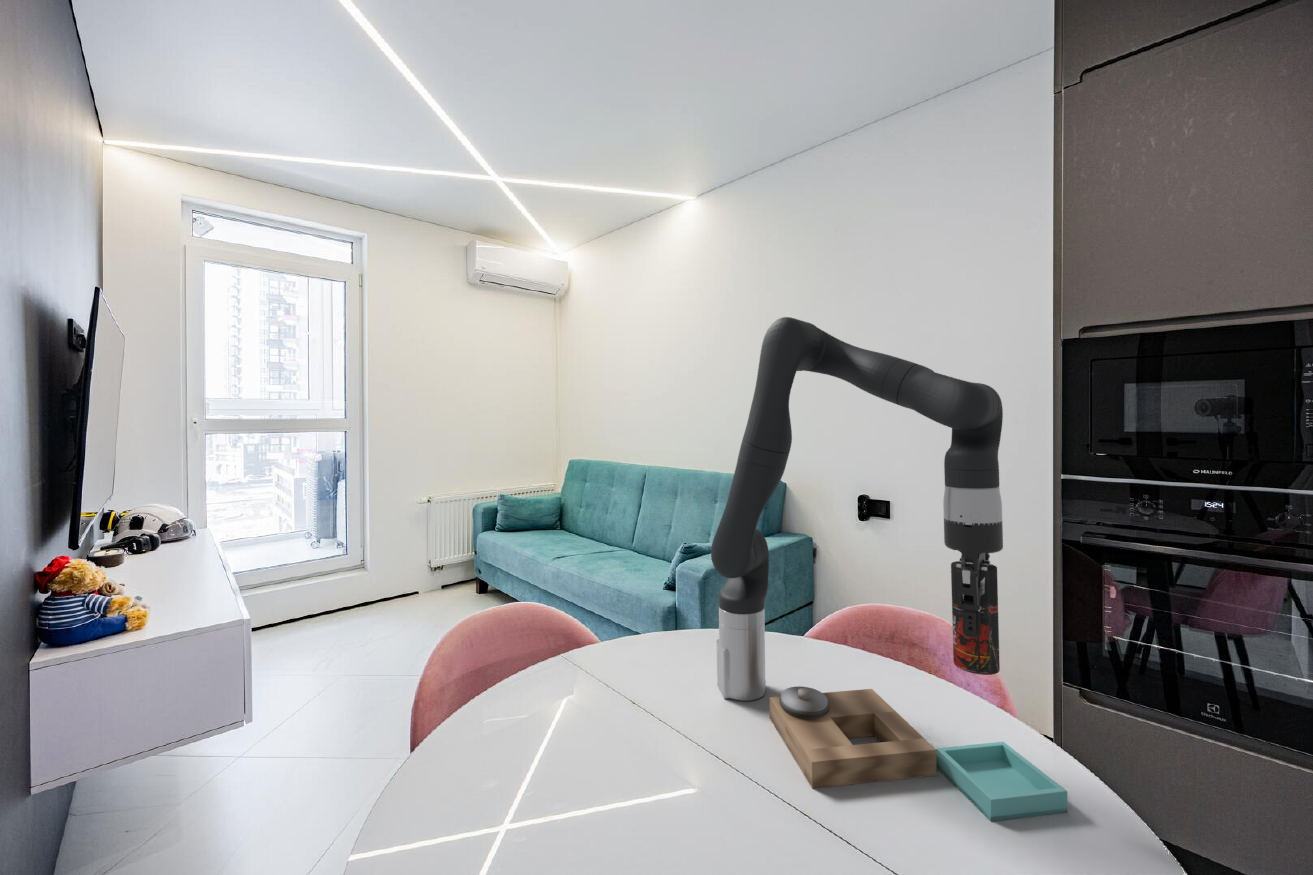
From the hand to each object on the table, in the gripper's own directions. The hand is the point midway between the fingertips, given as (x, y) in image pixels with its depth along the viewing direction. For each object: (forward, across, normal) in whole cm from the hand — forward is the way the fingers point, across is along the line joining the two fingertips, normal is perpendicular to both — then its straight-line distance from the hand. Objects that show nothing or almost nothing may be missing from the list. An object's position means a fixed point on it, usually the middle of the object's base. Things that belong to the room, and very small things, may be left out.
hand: (975, 628), depth 80 cm
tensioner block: (+23, +2, -19) cm, 30 cm away
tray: (+24, -1, +2) cm, 24 cm away
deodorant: (+6, 0, 0) cm, 6 cm away
